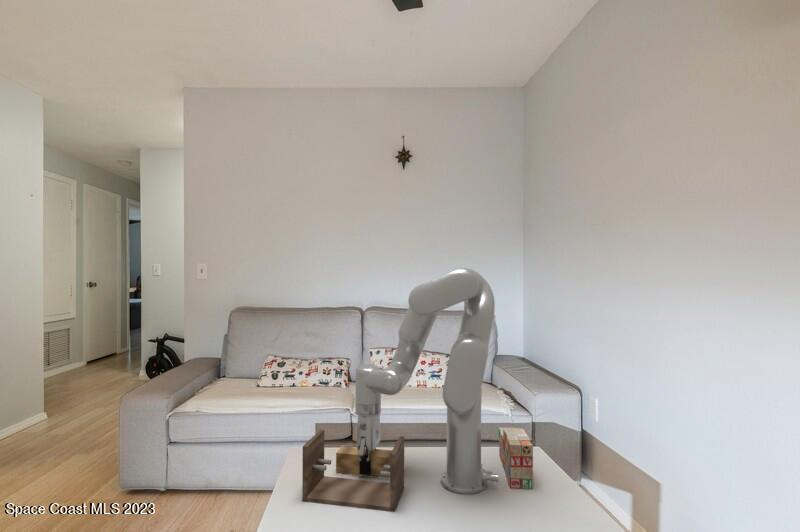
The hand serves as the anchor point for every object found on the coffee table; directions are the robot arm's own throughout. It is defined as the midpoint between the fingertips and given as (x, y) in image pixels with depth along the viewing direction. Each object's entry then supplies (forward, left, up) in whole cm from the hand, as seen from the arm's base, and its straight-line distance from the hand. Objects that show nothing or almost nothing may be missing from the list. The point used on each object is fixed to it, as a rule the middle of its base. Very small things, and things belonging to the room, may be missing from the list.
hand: (367, 469), depth 127 cm
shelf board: (0, 0, -1) cm, 1 cm away
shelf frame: (0, +13, -1) cm, 13 cm away
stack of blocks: (-42, -9, -1) cm, 43 cm away
